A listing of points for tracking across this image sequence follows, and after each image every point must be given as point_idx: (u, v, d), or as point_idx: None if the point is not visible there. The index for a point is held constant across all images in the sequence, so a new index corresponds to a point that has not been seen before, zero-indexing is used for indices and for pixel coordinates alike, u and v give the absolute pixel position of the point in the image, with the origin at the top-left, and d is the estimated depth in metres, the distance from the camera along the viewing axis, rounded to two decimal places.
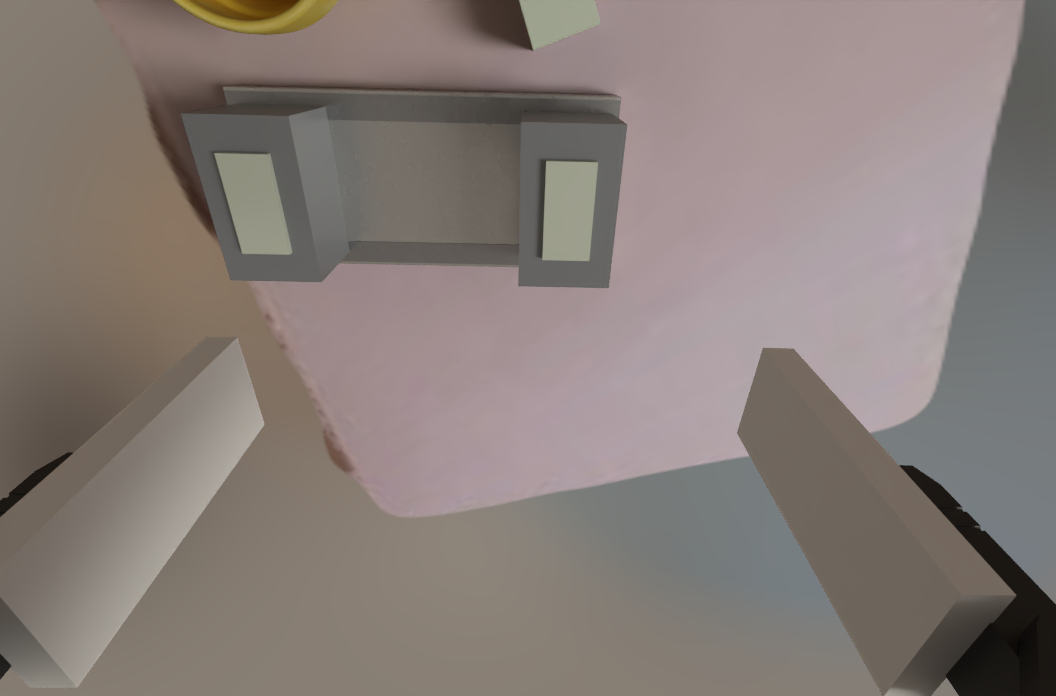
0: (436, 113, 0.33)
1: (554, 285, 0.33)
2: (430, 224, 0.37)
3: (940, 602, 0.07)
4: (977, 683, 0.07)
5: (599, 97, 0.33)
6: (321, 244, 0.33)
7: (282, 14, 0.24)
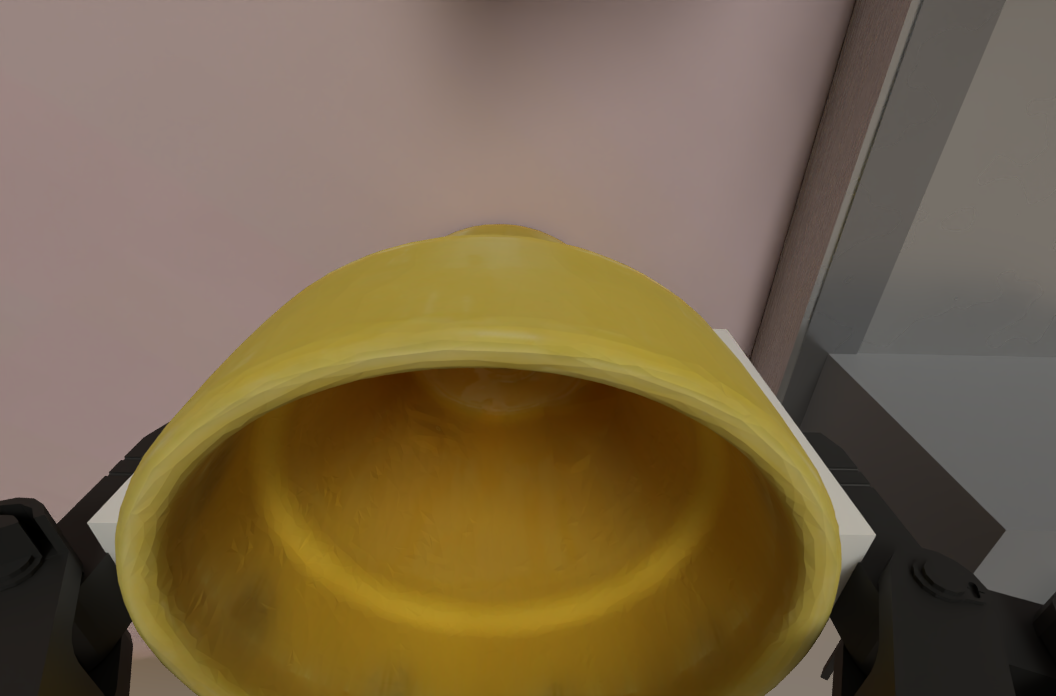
0: (959, 45, 0.10)
1: None
2: None
3: None
4: (850, 624, 0.08)
5: None
6: None
7: (806, 548, 0.07)
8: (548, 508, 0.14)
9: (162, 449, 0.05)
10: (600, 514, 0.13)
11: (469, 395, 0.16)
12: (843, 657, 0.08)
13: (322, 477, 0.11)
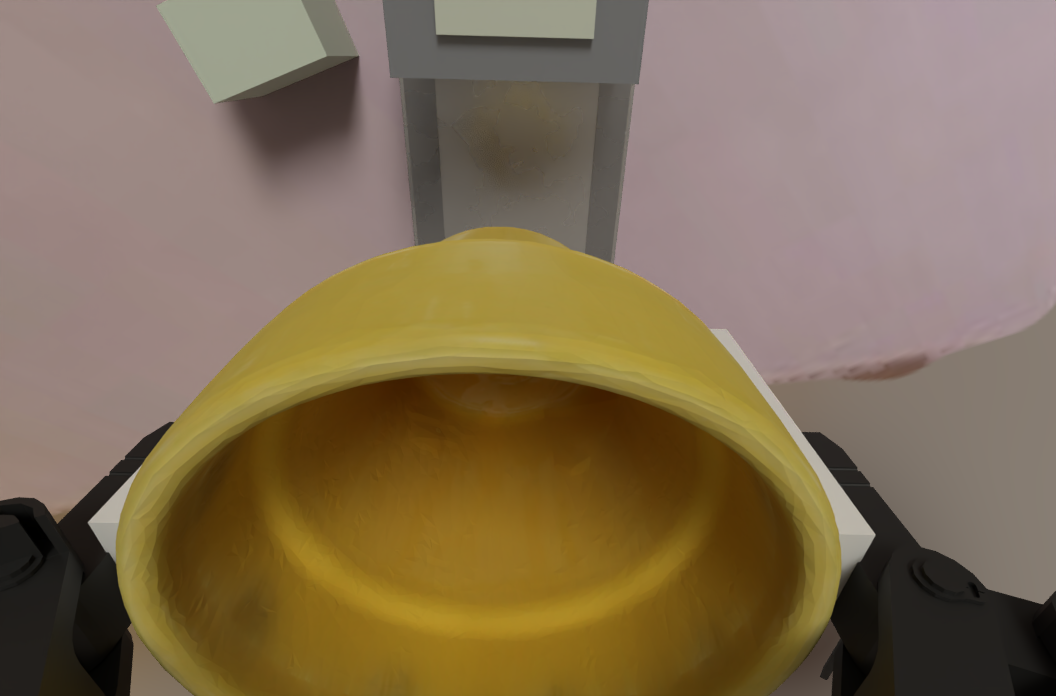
0: (431, 188, 0.28)
1: (644, 12, 0.19)
2: (563, 208, 0.29)
3: None
4: (849, 623, 0.08)
5: None
6: None
7: (806, 553, 0.07)
8: (548, 510, 0.14)
9: (163, 454, 0.05)
10: (600, 516, 0.13)
11: (469, 397, 0.16)
12: (842, 657, 0.08)
13: (323, 479, 0.11)
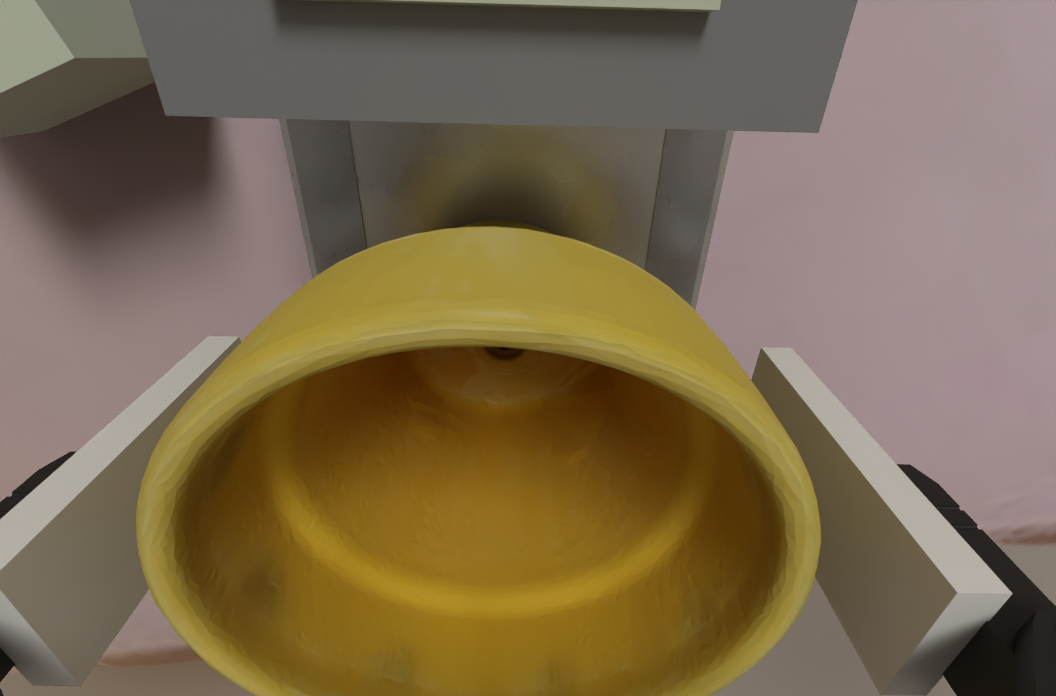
0: None
1: None
2: None
3: (937, 600, 0.07)
4: (974, 681, 0.07)
5: None
6: None
7: (787, 522, 0.07)
8: (546, 496, 0.14)
9: (183, 423, 0.06)
10: (596, 501, 0.13)
11: (470, 387, 0.16)
12: None
13: (328, 463, 0.11)
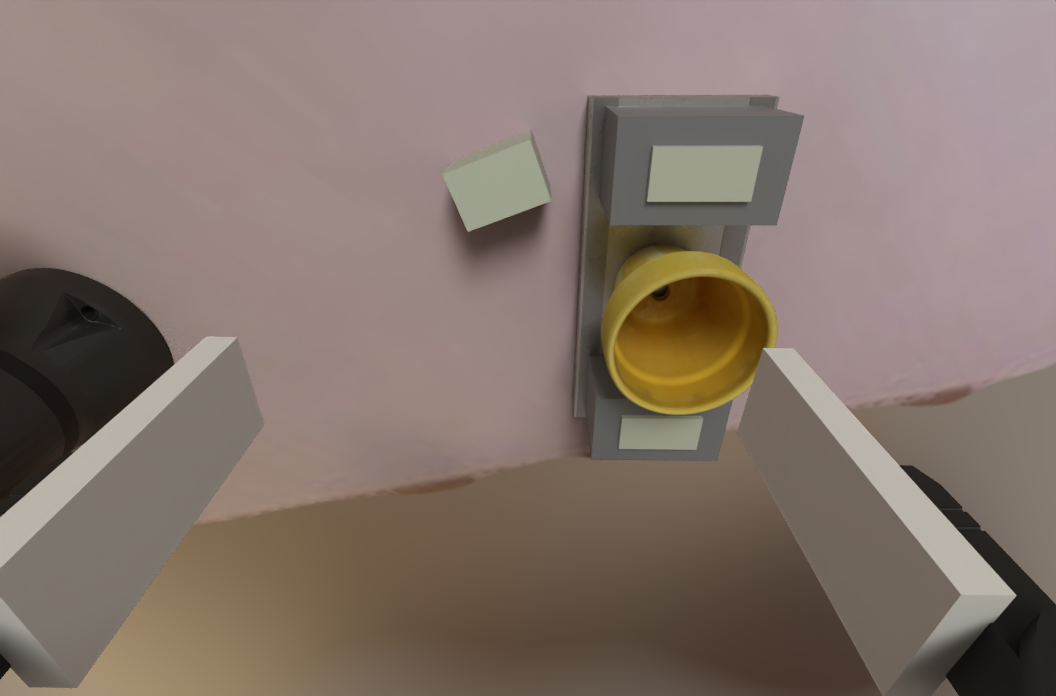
0: (598, 275, 0.38)
1: (785, 184, 0.29)
2: None
3: (940, 602, 0.07)
4: (977, 683, 0.07)
5: (590, 121, 0.33)
6: None
7: (769, 321, 0.29)
8: (682, 350, 0.37)
9: (641, 294, 0.28)
10: (704, 348, 0.35)
11: (642, 313, 0.39)
12: None
13: None
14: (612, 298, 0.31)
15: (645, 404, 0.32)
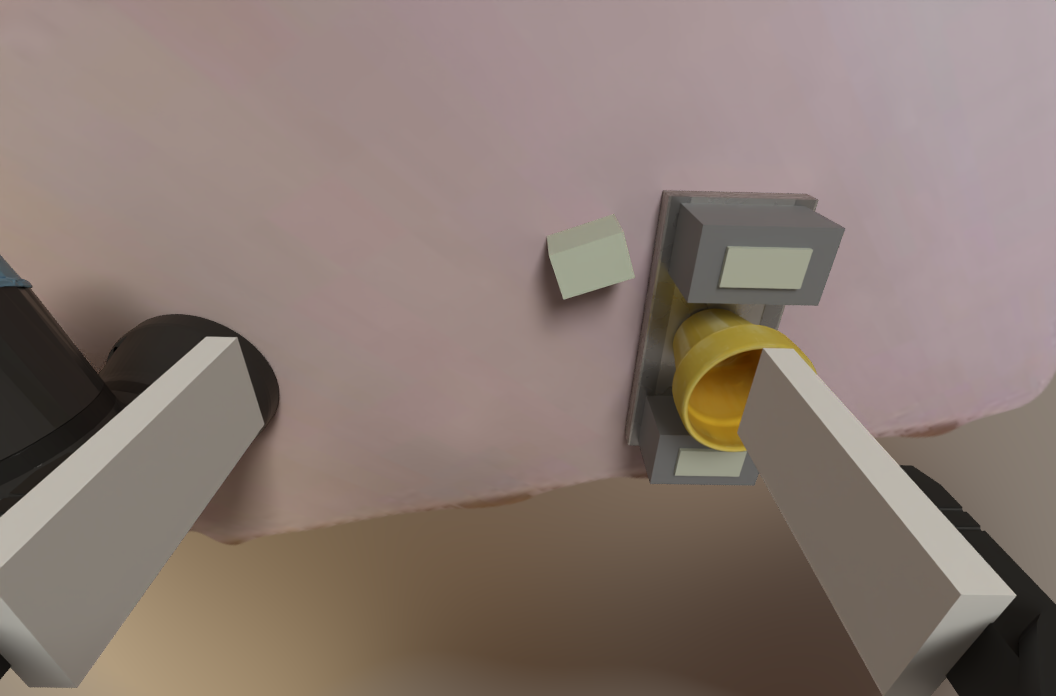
0: (660, 331, 0.46)
1: (826, 276, 0.37)
2: None
3: (940, 602, 0.07)
4: (977, 683, 0.07)
5: (666, 213, 0.40)
6: None
7: None
8: (731, 396, 0.44)
9: (715, 361, 0.36)
10: None
11: None
12: None
13: None
14: (686, 359, 0.39)
15: (708, 443, 0.40)
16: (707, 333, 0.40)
